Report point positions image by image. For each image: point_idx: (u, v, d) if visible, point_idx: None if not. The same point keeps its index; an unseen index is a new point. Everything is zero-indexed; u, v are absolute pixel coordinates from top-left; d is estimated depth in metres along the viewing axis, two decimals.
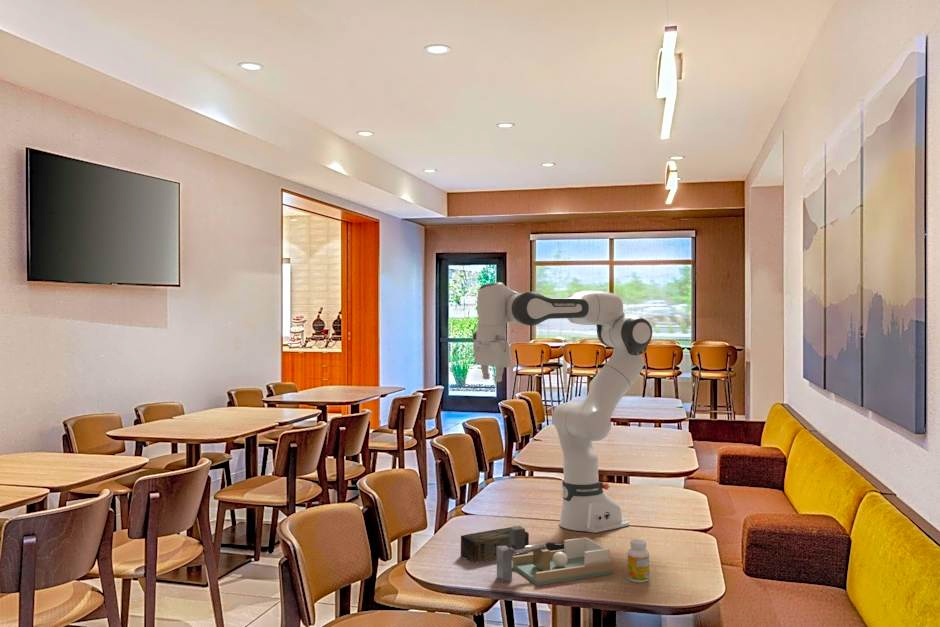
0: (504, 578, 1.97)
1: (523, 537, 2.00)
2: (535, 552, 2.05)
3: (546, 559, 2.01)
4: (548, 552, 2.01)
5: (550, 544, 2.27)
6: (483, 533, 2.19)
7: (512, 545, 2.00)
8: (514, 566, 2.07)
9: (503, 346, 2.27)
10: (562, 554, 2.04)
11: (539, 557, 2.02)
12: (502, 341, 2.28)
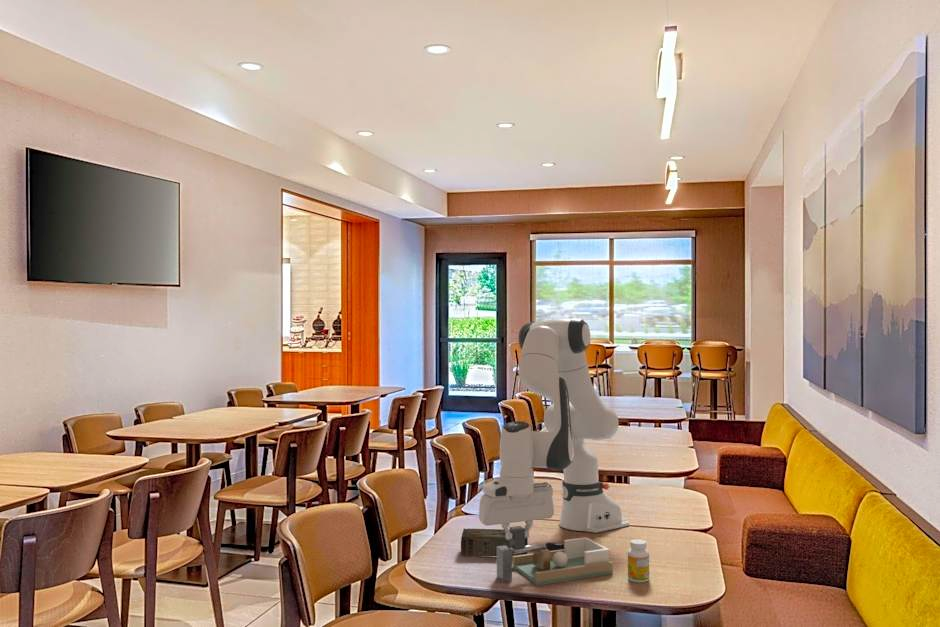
0: (504, 578, 1.97)
1: (523, 537, 2.00)
2: (535, 552, 2.05)
3: (546, 559, 2.01)
4: (548, 552, 2.01)
5: (550, 544, 2.27)
6: (483, 530, 2.22)
7: (512, 545, 2.00)
8: (514, 566, 2.07)
9: (551, 493, 2.04)
10: (562, 554, 2.04)
11: (539, 557, 2.02)
12: (548, 488, 2.04)
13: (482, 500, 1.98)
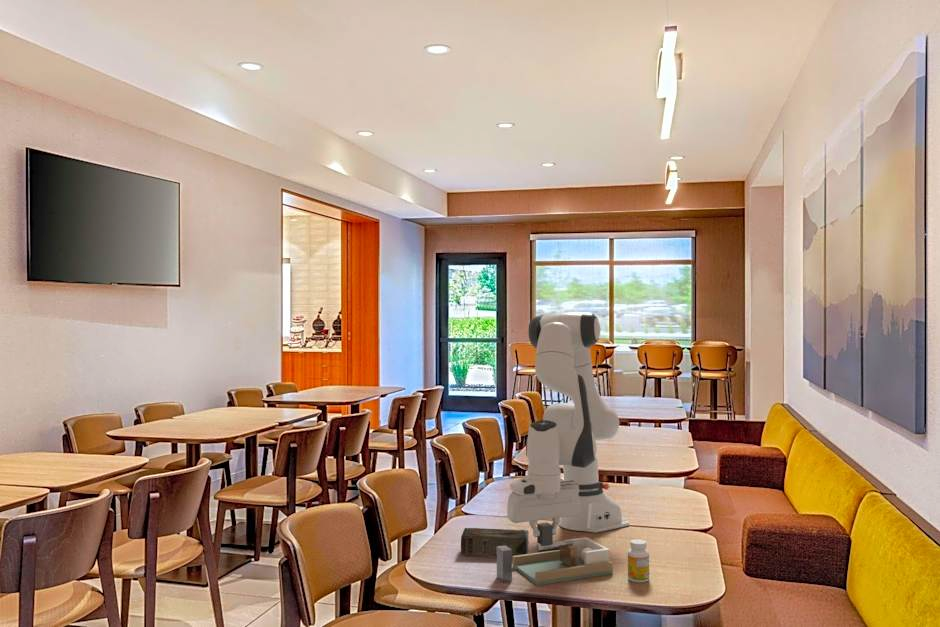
0: (504, 578, 1.97)
1: (551, 533, 2.03)
2: (562, 548, 2.07)
3: (574, 555, 2.04)
4: (575, 548, 2.04)
5: None
6: (484, 530, 2.23)
7: (540, 542, 2.03)
8: (514, 566, 2.07)
9: (577, 491, 2.07)
10: None
11: (566, 553, 2.05)
12: (575, 486, 2.07)
13: (511, 498, 2.01)
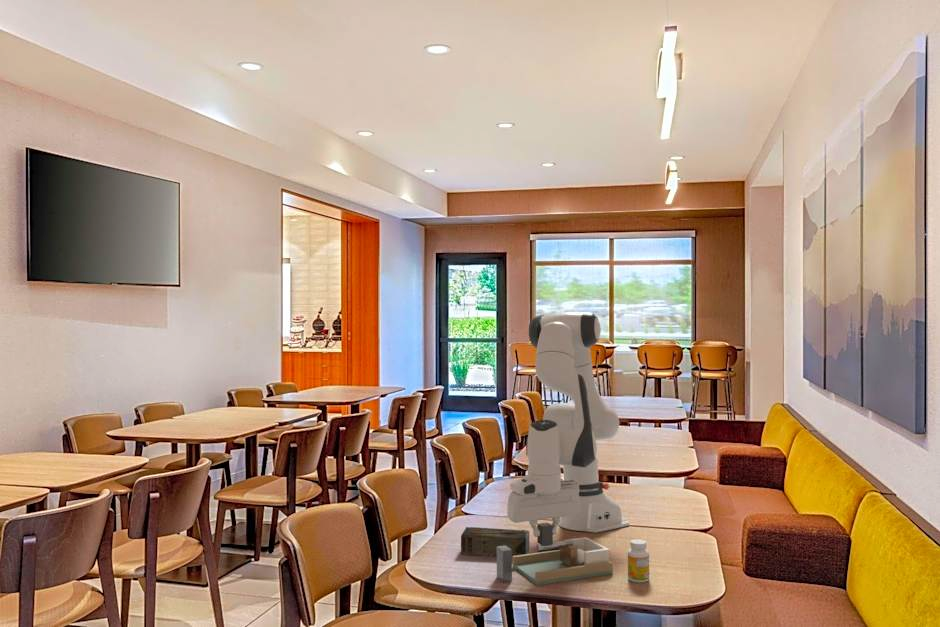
0: (504, 578, 1.97)
1: (551, 533, 2.03)
2: (562, 548, 2.07)
3: (574, 555, 2.04)
4: (575, 548, 2.04)
5: None
6: (484, 529, 2.23)
7: (540, 542, 2.03)
8: (514, 566, 2.07)
9: (577, 490, 2.07)
10: (582, 563, 2.07)
11: (566, 553, 2.05)
12: (575, 485, 2.07)
13: (511, 497, 2.01)
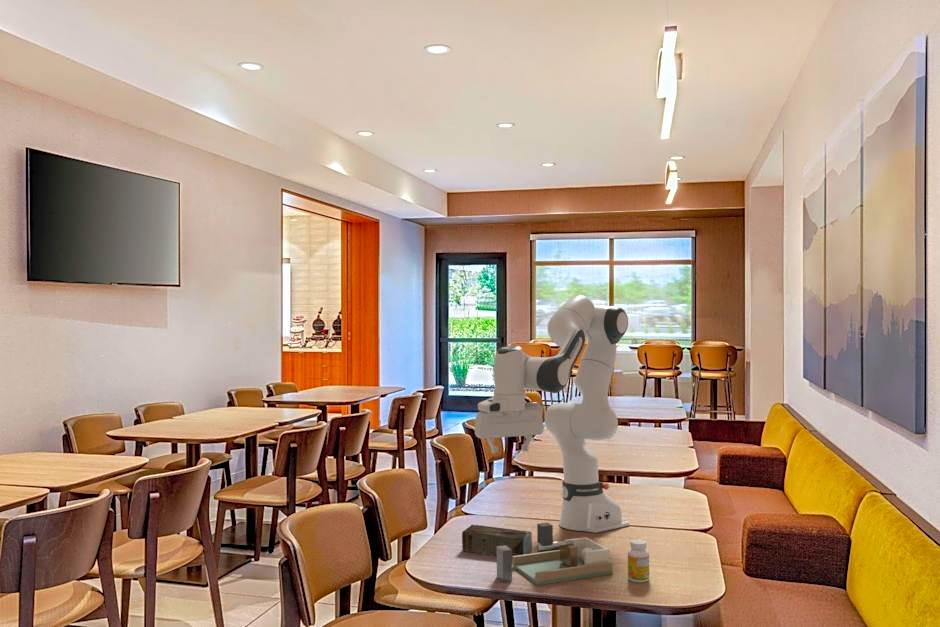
0: (504, 578, 1.97)
1: (551, 533, 2.03)
2: (562, 548, 2.07)
3: (574, 555, 2.04)
4: (575, 548, 2.04)
5: None
6: (487, 528, 2.25)
7: (540, 542, 2.03)
8: (514, 566, 2.07)
9: (541, 412, 2.22)
10: None
11: (566, 553, 2.05)
12: (538, 407, 2.22)
13: (478, 416, 2.16)
